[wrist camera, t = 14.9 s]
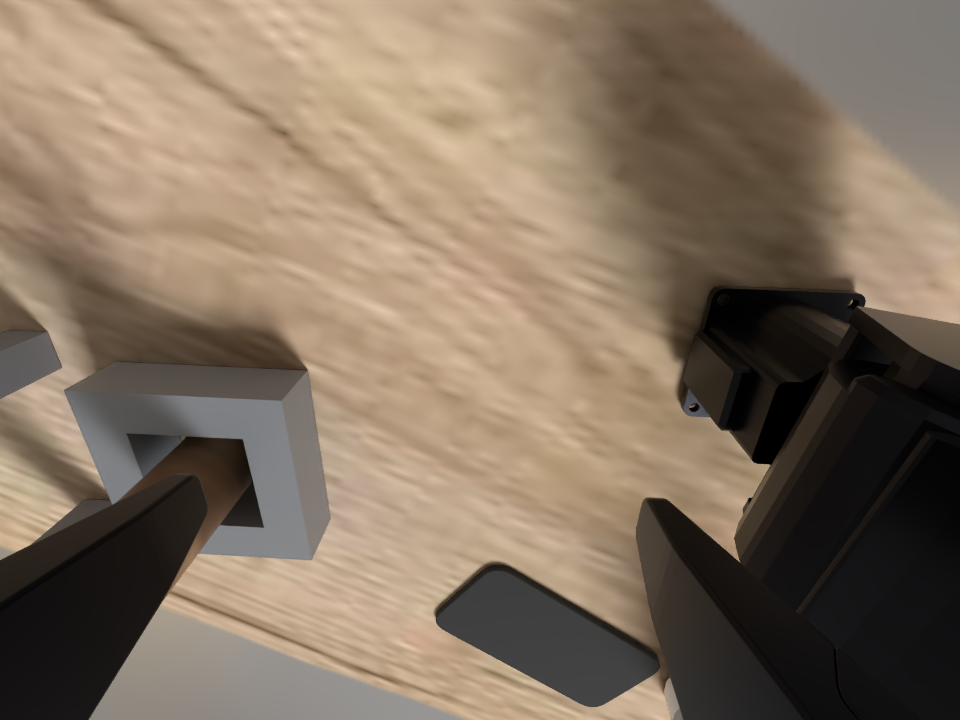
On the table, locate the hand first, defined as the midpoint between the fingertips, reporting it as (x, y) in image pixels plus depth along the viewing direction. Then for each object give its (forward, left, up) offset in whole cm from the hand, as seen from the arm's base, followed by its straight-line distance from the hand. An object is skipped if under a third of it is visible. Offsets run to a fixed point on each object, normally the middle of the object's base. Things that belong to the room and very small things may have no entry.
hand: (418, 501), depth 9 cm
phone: (-6, +24, -14) cm, 28 cm away
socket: (+13, +9, -13) cm, 20 cm away
